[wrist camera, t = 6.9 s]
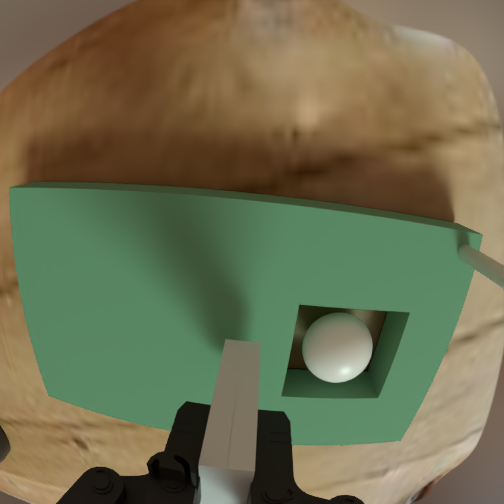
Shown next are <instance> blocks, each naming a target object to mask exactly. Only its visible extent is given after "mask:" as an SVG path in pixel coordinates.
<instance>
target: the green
mask: <svg viewBox="0 0 504 504" xmlns="http://www.w3.org/2000/svg"><path fill="white" fill-rule="evenodd" d="M9 197H10V217H11V230H12V240H13V249H14V257H15V265H16V272H17V278H18V284H19V289H20V295H21V300H22V305H23V309H24V314H25V318H26V323H27V327H28V331H29V335H30V339H31V342H32V346H33V349H34V353H35V356H36V360H37V363H38V366H39V369H40V372H41V375H42V378H43V381H44V384H45V387H46V390H47V393H48V395H49V396H51V397H53V398H56V399H59V400H61V401H64V402H67V403H70V404H72V405H75V406H78V407H81V408H84V409H87V410H91V411H94V412H97V413H100V414H104V415H107V416H111V417H114V418H118V419H121V420H125V421H129V422H133V423H137V424H141V425H146V426H150V427H154V428H159V429H164V430H169V431H171V429H172V426H173V422H174V419H175V416H176V413H177V410H178V409H179V408H180V407H181V406H182V405H183V404H184V403H185V402H186V401H189V402H195V403H202V404H208V405H211V404H212V399H213V394H214V390H215V385H216V380H217V376H218V371H219V367H220V362H221V357H222V353H223V348H224V344H225V339H230V340H238V341H248V342H257V343H261V349H260V373H259V396H258V409H259V410H271V411H284V412H285V414H286V415H287V417H288V419H289V420H290V423H291V439H292V443H291V444H292V445H353V444H370V443H382V442H393V441H401V439H402V437H403V436H404V434H405V432H406V430H407V429H408V427H409V425H410V424H411V422H412V420H413V418H414V416H415V415H416V413H417V411H418V409H419V407H420V405H421V403H422V401H423V399H424V397H425V396H426V394H427V392H428V390H429V387H430V385H431V383H432V381H433V379H434V377H435V375H436V373H437V371H438V368H439V366H440V364H441V362H442V359H443V357H444V355H445V352H446V350H447V347H448V345H449V343H450V340H451V338H452V335H453V332H454V330H455V327H456V324H457V322H458V319H459V316H460V313H461V310H462V308H463V305H464V302H465V299H466V295H467V292H468V289H469V286H470V282H471V279H472V276H473V272H474V268H472V267H471V266H469V265H468V264H466V263H465V262H463V261H462V260H460V259H459V258H458V250H459V248H460V247H461V246H462V245H464V244H467V245H469V246H471V247H472V248H474V249H476V250H478V251H479V249H480V245H481V241H482V236H483V235H482V234H480V233H478V232H476V231H473V230H471V229H469V228H467V227H465V226H462V225H460V224H458V223H453V222H448V221H442V220H437V219H432V218H426V217H421V216H415V215H409V214H404V213H398V212H392V211H385V210H379V209H373V208H366V207H360V206H353V205H346V204H339V203H331V202H324V201H316V200H309V199H300V198H292V197H284V196H275V195H266V194H256V193H246V192H236V191H225V190H213V189H201V188H188V187H174V186H158V185H140V184H119V183H90V182H33V183H28V184H23V185H19V186H14V187H10V188H9ZM299 304H300V305H311V306H323V307H335V308H349V309H363V310H379V311H387V314H386V318H385V321H384V324H383V328H382V331H381V334H380V337H379V340H378V343H377V346H376V349H375V352H374V355H373V358H372V361H371V364H370V367H369V370H368V372H361V373H360V374H359V375H357V376H356V377H354V378H353V379H351V380H348V381H345V382H338V383H333V382H328V381H324V380H322V379H320V378H318V377H316V376H315V375H314V374H313V373H312V372H311V371H310V370H300V369H287V367H288V362H289V357H290V352H291V346H292V341H293V336H294V331H295V325H296V320H297V314H298V309H299Z"/></svg>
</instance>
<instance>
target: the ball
mask: <svg viewBox="0 0 504 504" xmlns="http://www.w3.org/2000/svg"><path fill="white" fill-rule="evenodd" d="M372 348H373V344H372V338H371V334H370V332H369V330H368V328H367V327H366V325H365V324H364V323H363V322H362V321H361V320H360V319H358V318H357V317H355V316H353V315H351V314H347V313H341V312H337V313H330V314H327V315H324V316H322V317H320V318H319V319H317V320H316V321H315V322H314V323H313V324H312V325H311V326H310V327H309V329H308V330H307V332H306V334H305V336H304V339H303V344H302V354H303V359H304V362H305V364H306V366H307V367H308V369H309V370H310V371H311V372H312V373H313V374H314V375H315V376H316V377H318V378H320V379H322V380H324V381H328V382H333V383H338V382H345V381H348V380H351V379H353V378H354V377H356V376H357V375H359V374H360V373H361V372H362V371H363V370H364V369H365V368H366V366H367V365H368V363H369V361H370V358H371V355H372Z"/></svg>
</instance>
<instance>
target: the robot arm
mask: <svg viewBox="0 0 504 504" xmlns="http://www.w3.org/2000/svg"><path fill="white" fill-rule="evenodd" d="M260 349H261V343H257V342H248V341H238V340H230V339H225V344H224V348H223V353H222V357H221V362H220V367H219V371H218V376H217V380H216V385H215V390H214V394H213V399H212V404H211V405H208V404H202V403H195V402H189V401H186V402H185V403H184V404H183V405H182V406H181V407H180V408H179V409H178V410H177V413H176V416H175V419H174V422H173V426H172V429H171V432H170V435H169V438H168V441H167V444H166V447H165V450H164V451H163V452H159V453H157V454H155V455H154V456H152V457H151V458H150V459H149V461H148V462H147V466H148V470H149V473H148V474H145V475H140V476H120V475H119V474H118V473H116V472H115V471H114V470H112V469H109V468H107V467H94V468H91V469H89V470H87V471H86V472H85V473H83V474H82V476H81V477H80V478H79V479H78V480H77V481H76V482H75V483H74V484H73V486H72V487H71V488H70V489H69V490H68V491H67V492H66V493H65V494H64V495H63V497H62V498H61V499H60V500H59V501H58V502H57V503H56V504H364V503H363V502H362V500H360V499H358V498H356V497H355V496H350V495H340V496H336V497H334V498H332V499H330V500H327V499H323V498H319V497H315V496H312V495H309V494H307V493H305V492H303V491H302V490H301V489H300V488H299V487H298V486H297V484H296V483H295V480H294V475H293V457H292V444H291V443H292V439H291V423H290V420H289V419H288V417H287V415H286V414H285V412H284V411H271V410H259V409H258V396H259V373H260ZM9 452H10V444H9V442H8V439H7V437H6V436H5V434H4V432H3V431H2V429H1V427H0V462H2V461H3V460H4V459H5V457H6V456H7V455H8V453H9Z"/></svg>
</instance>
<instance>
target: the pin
mask: <svg viewBox="0 0 504 504" xmlns="http://www.w3.org/2000/svg"><path fill="white" fill-rule="evenodd" d="M458 258H459V259H460V260H462V261H463V262H465V263H466V264H468V265H469V266H471V267H472V268H474V269H475V270H477V271H478V272H480V273H481V274H483V275H484V276H486V277H487V278H489V279H490V280H492V281H493V282H495V283H496V284H497V285H499V286H500V287H502V288H503V289H504V265H502V264H500V263H499V262H497V261H495V260H494V259H492V258H490V257H488V256H487V255H485V254H483V253H481V252H480V251H478V250H476V249H474V248H472V247H471V246H469V245H467V244H464V245H462V246H461V247H460V248H459V250H458Z"/></svg>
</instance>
